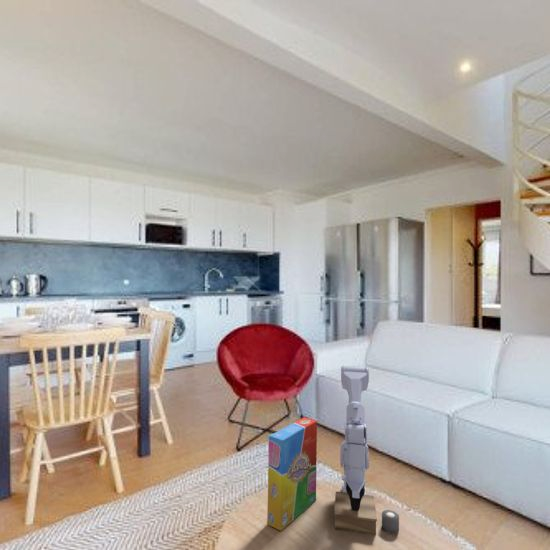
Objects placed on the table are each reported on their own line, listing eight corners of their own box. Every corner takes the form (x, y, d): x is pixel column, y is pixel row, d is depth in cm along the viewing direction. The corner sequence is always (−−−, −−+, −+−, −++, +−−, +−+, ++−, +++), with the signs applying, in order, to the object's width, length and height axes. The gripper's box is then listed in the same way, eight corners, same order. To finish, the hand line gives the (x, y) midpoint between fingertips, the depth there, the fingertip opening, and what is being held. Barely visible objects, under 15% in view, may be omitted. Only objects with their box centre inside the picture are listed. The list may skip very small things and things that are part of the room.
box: (336, 505, 124) (336, 493, 124) (373, 510, 122) (373, 497, 122) (334, 529, 112) (335, 515, 112) (376, 534, 110) (376, 521, 110)
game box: (280, 532, 111) (281, 440, 111) (266, 525, 114) (267, 435, 114) (316, 499, 127) (317, 420, 128) (303, 494, 131) (304, 416, 131)
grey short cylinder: (381, 521, 116) (381, 508, 116) (397, 524, 115) (397, 510, 115) (382, 532, 111) (382, 518, 111) (400, 535, 110) (400, 521, 110)
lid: (335, 493, 124) (335, 491, 124) (373, 497, 122) (374, 495, 122) (334, 515, 112) (334, 513, 112) (376, 521, 110) (376, 519, 110)
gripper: (342, 451, 122) (342, 493, 122) (341, 474, 108) (341, 521, 108) (364, 453, 121) (364, 495, 121) (366, 477, 107) (366, 524, 107)
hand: (355, 508), depth 114 cm, fingers closed
